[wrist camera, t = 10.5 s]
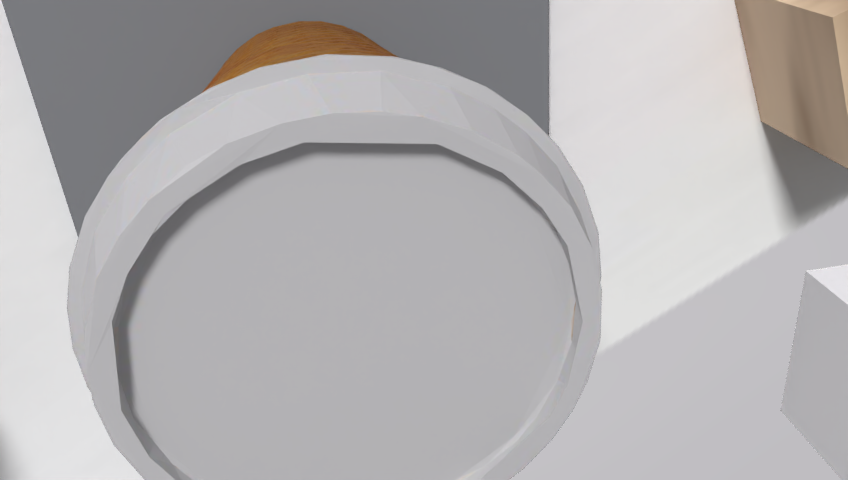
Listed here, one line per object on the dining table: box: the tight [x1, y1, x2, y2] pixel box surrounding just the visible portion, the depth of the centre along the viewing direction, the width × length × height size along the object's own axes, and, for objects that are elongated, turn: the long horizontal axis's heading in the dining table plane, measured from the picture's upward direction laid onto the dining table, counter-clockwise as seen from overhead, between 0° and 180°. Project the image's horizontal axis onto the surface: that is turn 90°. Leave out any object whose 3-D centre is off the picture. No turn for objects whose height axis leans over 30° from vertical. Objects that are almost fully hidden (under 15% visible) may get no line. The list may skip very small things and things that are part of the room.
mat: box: [2, 0, 549, 238], centre depth 24 cm, size 15×15×1 cm
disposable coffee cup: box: [67, 21, 602, 480], centre depth 18 cm, size 10×10×12 cm
